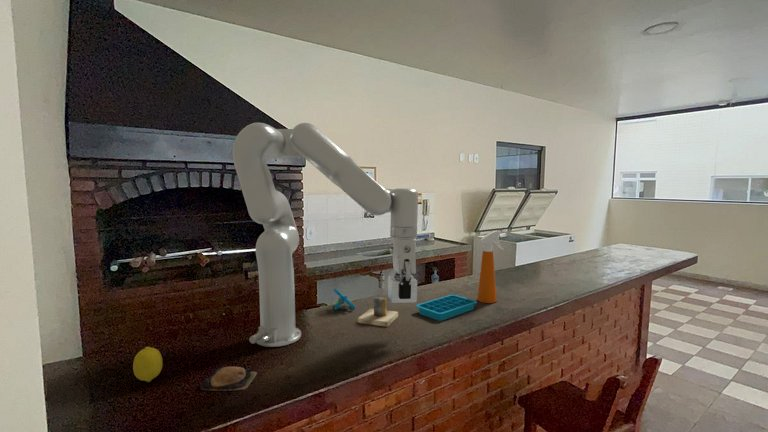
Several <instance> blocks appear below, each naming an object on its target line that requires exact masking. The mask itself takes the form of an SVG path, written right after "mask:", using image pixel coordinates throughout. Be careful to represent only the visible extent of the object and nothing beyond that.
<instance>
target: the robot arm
mask: <svg viewBox="0 0 768 432" xmlns="http://www.w3.org/2000/svg"><path fill="white" fill-rule="evenodd" d="M267 158H271V159H273V158H274V159H277V158H279V159H281V158H286V159H287V158H304V159H305V160H306V161H307V162H309V163H310V164H311V165H312V166H313V167H314V168H316V169H317V170H318V171H319V172H320V173H322V175H324V176H325V178H327V179H328V180H330V182H331V183H333V184H334V185H335V186H337V187H338V188H340V189H341V190H342V191H343V192H344V193H345V194H346V195H348V196H349V197H350V198H351V199H352V200H353V201H354V202H355V203H357V205H359V206H360V208H362V209H364V210H365V211H366V212H367V213H369V214H370V215H372V216H375V217H376V216H382V215H385V214H386V213H390V232H389V233H390V234H389V236H390V238H391V239H393V242H392V243H393V246H392V247H393V248H392V267H393V269H394V275H400V284H399V298H400V299H410V298H411V275H412V276H413V275H415V274H416V272H417V269H416V267H417V265H416V263H417V261H416V259H417V258H416V254H417V253H416V242H415V241H416V239H417V238H418V213H419V211H418V210H419V209H418V208H419V192H418V190H416V189H415V188H414V189H413V188H394V189H393V188H392V189H391V188H385V187H383V186H382V185H381V184H379V182H377V181H376V180H375V179H374V178H373V177H372V176H370V174H368V173H367V172H366V171H365V170H364V169H362V168H361V167H360V166H359V165H358V164H357V163H356V161H354V159H353V158H352V157H351V156H350V155H348V154H347V153H346V151H344V150H343V149H342V148H340V147H339V146H338V145H337V144H336V143H335V142H334V141H333V140H331V138H329V137H328V136H327V135H326V134H325V133H323V132H322V131H321V130H320V128H318V127H317V126H315V125H314V124H312V123H310V122H302V123H299V124H297V125H295V126H294V127H293V128H276V127H273V126H271V125H269V124H267V123H264V122H253V123H250V124H248V125H246V126H245V127H243V128H242V129H241V130H240V131H239V133H238V134H237V135H236V137H235V140H234V141H233V144H232V160H233V164H234V168H235V172H236V176H237V178H238V180H239V184H240V185H239V186H240V189H241V192H242V196H243V198H244V202H245V204H246V207H247V212H248V215H249V216H250V218H251V220H252V221H254V222H255V223H257V224H259V225H262V226H263V229H264V231H263V232H262V233H261V234H260V235H259V236H258V238H257V240H256V243H255V256H256V264H257V270H258V287H259V289H258V290H259V291H258V292H259V315H260V316H259V317H260V319H259V320H260V323H259V324H260V326H258V328H257V329H258V331H257V333H255V334H254V335H251V336H250V337H249V343H251V344H257V345H259V346H261V347H266V348H267V347H268V348H269V347H270V348H274V347H275V348H276V347H283V346H288V345H291V344H294V343H296V342H297V341H299V339H301V337H302V331H301V329H299V328H298V327H296V304H295V303H296V299H295V298H296V297H295V294H296V293H295V291H296V290H295V289H296V288H295V271H294V270H295V269H294V261H293V260H294V259H293V254H294V252H295V251H296V250H297V249H298V246H300V245H299V244H300V236H299V235H300V234H299V231H298V228H297V224H296V221H295V218H294V215H293V210H292V207H291V205H290V202H289V200H288V198H287V197H286V196H285V194H284V193H282V192H281V191H280V190H279V191H278V190H277V189H276V187H275V184H274V181H273V177H272V174H271V171H270V169H269V166H268V164H267V161H266V159H267ZM403 276H405V277H404V278H403Z"/></svg>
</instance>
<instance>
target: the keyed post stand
mask: <svg viewBox="0 0 768 432" xmlns="http://www.w3.org/2000/svg"><path fill="white" fill-rule="evenodd" d="M387 303H388V300H387V298H385V297H383V296H375V297H373V308H372V307H371V308H369V309H368V310H366V311H365V312H364V313H362V314H360V315H359V317H358V318H357V324H365V325H371V326H372V325H373V326H378V327H386V328H388V327H389V326H390V325H391V324H392V323H393V322H394V321H395V320H397V318H398V317H399V311H394V310H387Z"/></svg>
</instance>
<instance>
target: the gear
mask: <svg viewBox="0 0 768 432" xmlns="http://www.w3.org/2000/svg"><path fill="white" fill-rule="evenodd" d="M333 291H334V293H335V294H337V295H338V299H337V302H336V303H334V307H333V309H334V310H335V311H337V310H338V309H339V308H340V307H341V305H344V303H346V304H347V305H348V306H349V307H351V308H352V309H353V310H354V309H355V308H356V306H355V305H354V304H353V303H352V301H350V300H349V299H348V296H347V295H344V294H343V293H341V292H340V291H339V290H338V289H336V288H334V289H333Z"/></svg>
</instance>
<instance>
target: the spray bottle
mask: <svg viewBox="0 0 768 432" xmlns="http://www.w3.org/2000/svg"><path fill="white" fill-rule="evenodd" d="M500 234H502V231H501V230H494V231H491V232H489V233H488V234H486V235H484V236H483V237H481V239H479V241H480V242H481V243H483V245H482V256H481V262H480V263H481V264H480V272H479V273H480V274H479V281H478V290H477V300H476V301H477V302H480V303H483V304H494V303H496V302H497V287H496V286H497V285H496V273H495V259H494V246H493V243H495V245H496V246H497V247H498V248H499V249H500V250H502V251H505V248H504V247H503V246H502V244H501V241H500V236H499V235H500Z"/></svg>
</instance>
